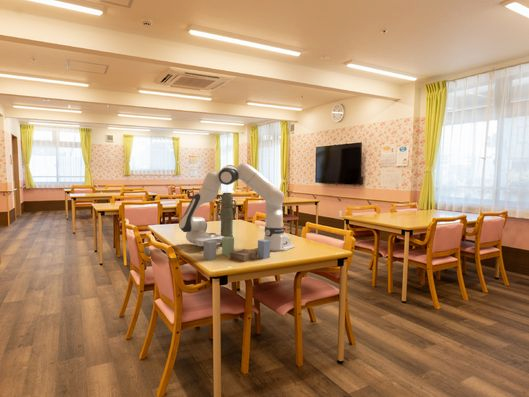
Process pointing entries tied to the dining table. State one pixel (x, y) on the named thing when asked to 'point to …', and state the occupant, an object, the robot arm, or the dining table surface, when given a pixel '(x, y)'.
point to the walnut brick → (243, 255)
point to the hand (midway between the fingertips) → (217, 242)
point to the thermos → (227, 214)
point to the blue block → (263, 249)
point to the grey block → (210, 250)
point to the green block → (227, 245)
